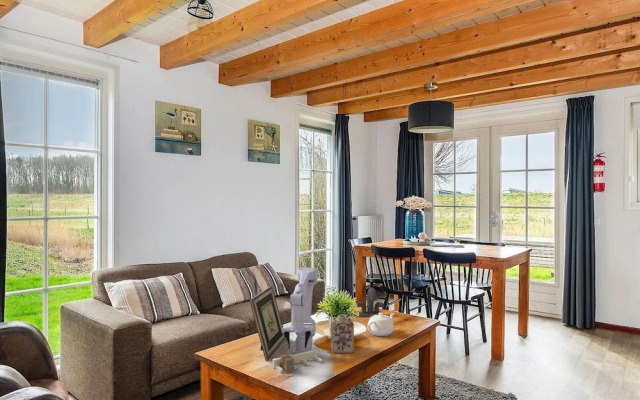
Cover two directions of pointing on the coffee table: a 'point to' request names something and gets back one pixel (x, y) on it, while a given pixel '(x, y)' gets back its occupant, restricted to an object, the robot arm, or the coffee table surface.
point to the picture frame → (267, 321)
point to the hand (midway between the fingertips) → (297, 347)
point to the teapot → (381, 325)
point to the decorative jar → (342, 334)
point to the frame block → (287, 363)
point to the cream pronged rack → (298, 359)
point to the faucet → (370, 304)
